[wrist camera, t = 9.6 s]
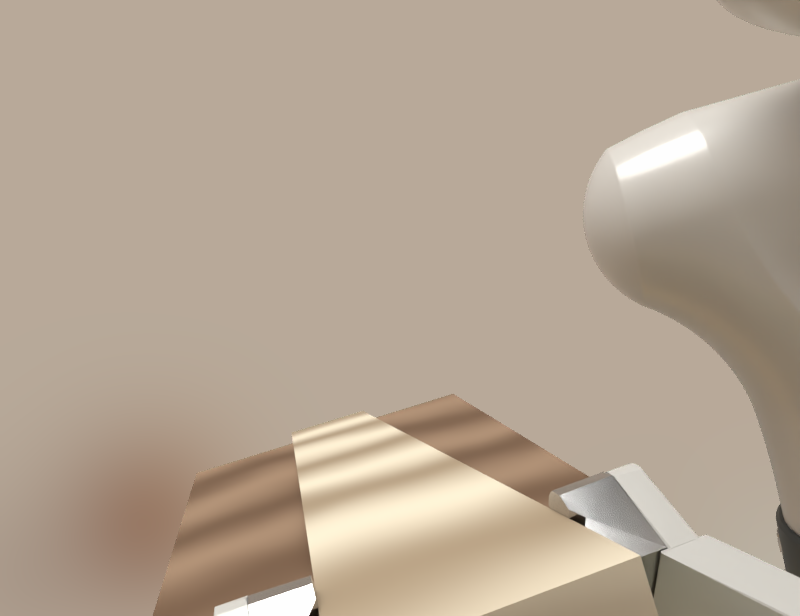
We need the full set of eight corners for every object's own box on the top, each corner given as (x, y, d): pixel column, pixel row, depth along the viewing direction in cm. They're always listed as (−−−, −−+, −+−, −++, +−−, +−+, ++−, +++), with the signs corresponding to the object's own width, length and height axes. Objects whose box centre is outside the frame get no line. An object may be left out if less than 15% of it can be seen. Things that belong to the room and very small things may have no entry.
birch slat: (677, 682, 8) (640, 554, 9) (367, 812, 8) (328, 673, 8) (370, 439, 38) (362, 410, 38) (299, 461, 37) (291, 432, 37)
